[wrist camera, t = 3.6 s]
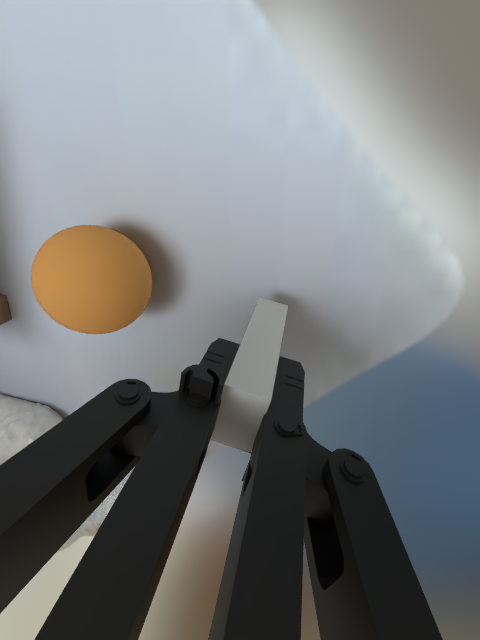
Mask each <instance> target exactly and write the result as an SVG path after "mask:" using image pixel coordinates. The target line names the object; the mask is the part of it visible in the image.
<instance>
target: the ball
mask: <svg viewBox="0 0 480 640" xmlns="http://www.w3.org/2000/svg"><path fill="white" fill-rule="evenodd" d="M31 282H32V287H33V291H34V294H35V297H36V299H37V301H38V302H39V304H40V306H41V307H42V308H43V310H44V311H45V312H46V313H47V314H48V315H49V316H50V317H51V318H52V319H53V320H55V321H56V322H57V323H59V324H61V325H63V326H64V327H66V328H68V329H71V330H74V331H77V332H81V333H87V334H103V333H110V332H113V331H117V330H119V329H122V328H124V327H126V326H128V325H129V324H130V323H132V322H133V321H135V320H136V319H137V318H138V317H139V316H140V315H141V314H142V312H143V311H144V309H145V308H146V306H147V304H148V302H149V299H150V296H151V292H152V273H151V270H150V266H149V264H148V261H147V259H146V258H145V256H144V254H143V253H142V251H141V250H140V249H139V248H138V247H137V246H136V245H135V244H134V243H133V242H132V241H131V240H130V239H129V238H127V237H126V236H124V235H123V234H121V233H119V232H117V231H115V230H112V229H109V228H106V227H101V226H95V225H81V226H75V227H71V228H67V229H65V230H62V231H60V232H58V233H56V234H55V235H53V236H52V237H51V238H49V239H48V240H47V241H46V242H45V243H44V244H43V245H42V246H41V248H40V249H39V251H38V253H37V254H36V256H35V259H34V262H33V265H32V271H31Z"/></svg>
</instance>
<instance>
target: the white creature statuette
mask: <svg viewBox="0 0 480 640" xmlns="http://www.w3.org/2000/svg"><path fill="white" fill-rule="evenodd" d="M62 420H64V419H63V418H62V417H61V416H60V415H59V414H58V413H57V412H56V411H54V410H53V409H51V408H50V407H48V406H47V405H41V404H40V403H36V404H35V403H33V402H29V401H27V400H21V399H17V398H13V397H9V396H5V395H1V394H0V465H1V464H2V463H4V462H5V461H7V460H8V459H9V458H11V457H12V456H14V455H15V454H16V453H18V452H19V451H21V450H22V449H23V448H25V447H26V446H27V445H29V444H30V443H32V442H33V441H34V440H36V439H37V438H39V437H40V436H41V435H43V434H44V433H46V432H47V431H48V430H50V429H51V428H52V427H54V426H55V425H57V424H58V423H59V422H61V421H62Z"/></svg>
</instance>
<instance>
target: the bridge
mask: <svg viewBox="0 0 480 640" xmlns="http://www.w3.org/2000/svg"><path fill="white" fill-rule="evenodd" d="M11 319H12V318H11V314H10V310H9V306H8V302H7V298H6V296H4V295H1V294H0V325H1V324H3V323H5V322H7V321H9V320H11Z"/></svg>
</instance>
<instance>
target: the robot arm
mask: <svg viewBox="0 0 480 640" xmlns="http://www.w3.org/2000/svg"><path fill="white" fill-rule="evenodd" d="M287 310H288V305H284V304H281V303H278V302H274V301H271V300H268V299H264V298H261V297H259V299H258V302H257V304H256V307H255V309H254V312H253V314H252V317H251V319H250V322H249V324H248V327H247V329H246V332H245V334H244V337H243V339H242V342H241V344H237V343H234V342H230V341H227V340H224V339H221V338H219V339H217V340H216V341H214V342H213V343H211V345H210V346H209V348H208V350H207V352H206V354H205V355H204V357H203V359H202V361H201V362H200V364H199V365H192V366H189V367H187V368H186V369H185V370H184V371H183V372H182V373H181V380H180V387H179V390H178V391H175V392H171V393H160V392H151V390H150V387H149V386H148V385H147V384H146V383H145V382H142V381H140V380H137V379H126V380H121V381H118V382H116V383H114V384H112V385H111V386H109V387H108V388H107V389H105V390H104V391H103V392H101V393H100V394H98V395H97V396H96V397H94V398H93V399H91V400H90V401H89V402H87V403H86V404H84V405H83V406H82V407H80V408H79V409H78V410H76V411H75V412H73V413H72V414H71V415H69V416H68V417H66V418H65V419H64V420H62V421H61V422H59V423H58V424H57V425H55V426H54V427H52V428H51V429H50V430H48V431H47V432H46V433H44V434H43V435H41V436H40V437H39V438H37V439H36V440H34V441H33V442H32V443H30V444H29V445H27V446H26V447H25V448H23V449H22V450H21V451H19V452H18V453H16V454H15V455H14V456H12V457H11V458H9V459H8V460H7V461H5V462H4V463H2V464H1V465H0V613H1V612H2V611H3V610H4V609H5V608H6V607H7V606H8V604H9V603H10V602H11V601H12V600H13V599H14V598H15V597H16V596H17V594H18V593H19V592H20V591H21V590H22V589H23V588H24V587H25V586H26V585H27V584H28V582H29V581H30V580H31V579H32V578H33V577H34V576H35V575H36V574H37V573H38V571H39V570H40V569H41V568H42V567H43V566H44V565H45V564H46V563H47V562H48V561H49V559H50V558H51V557H52V556H53V555H54V554H55V553H56V552H57V551H58V550H59V549H60V547H61V546H62V545H63V544H64V543H65V542H66V541H67V540H68V539H69V538H70V537H71V535H72V534H73V533H74V532H75V531H76V530H77V529H78V528H79V527H80V526H81V524H82V523H83V522H84V521H85V520H86V519H87V518H88V517H89V516H90V515H91V514H92V512H93V511H94V510H95V509H96V508H97V507H98V506H99V505H100V504H101V503H102V501H103V500H104V499H105V498H106V497H107V496H108V495H109V494H110V493H111V492H112V491H113V489H114V488H115V487H116V486H117V485H118V484H119V483H120V482H121V481H122V480H123V479H124V477H125V476H126V475H127V474H128V473H129V472H130V471H131V470H132V469H133V468H134V466H135V465H136V466H135V468H134V470H133V471H132V473H131V475H130V477H129V478H128V480H127V482H126V483H125V485H124V487H123V489H122V490H121V492H120V494H119V495H118V497H117V499H116V501H115V502H114V504H113V506H112V507H111V509H110V511H109V513H108V514H107V516H106V518H105V519H104V521H103V523H102V525H101V526H100V528H99V530H98V532H97V533H96V535H95V537H94V538H93V540H92V542H91V544H90V545H89V547H88V549H87V551H86V552H85V554H84V556H83V557H82V559H81V561H80V562H79V564H78V566H77V568H76V569H75V571H74V573H73V574H72V576H71V578H70V580H69V581H68V583H67V585H66V587H65V588H64V590H63V592H62V594H61V595H60V597H59V599H58V600H57V602H56V604H55V605H54V607H53V609H52V611H51V612H50V614H49V616H48V617H47V619H46V621H45V623H44V624H43V626H42V628H41V630H40V631H39V633H38V635H37V636H36V638H35V640H138V638H139V635H140V633H141V630H142V627H143V625H144V622H145V619H146V616H147V614H148V611H149V608H150V605H151V602H152V600H153V597H154V594H155V592H156V589H157V586H158V584H159V581H160V578H161V575H162V573H163V570H164V567H165V564H166V562H167V559H168V556H169V554H170V551H171V548H172V545H173V543H174V540H175V537H176V534H177V532H178V529H179V526H180V524H181V521H182V518H183V515H184V513H185V510H186V507H187V504H188V502H189V499H190V496H191V493H192V491H193V488H194V485H195V483H196V480H197V477H198V474H199V472H200V469H201V466H202V463H203V461H204V458H205V455H206V452H207V448H208V444H209V442H210V439H211V440H214V441H217V442H220V443H222V444H225V445H228V446H231V447H234V448H237V449H240V450H243V451H245V452H249V453H251V451H252V453H251V457H250V461H249V463H248V466H247V468H246V471H245V473H244V476H243V479H242V481H244V482H243V486H242V491H241V495H240V500H239V504H238V509H237V513H236V517H235V522H234V526H233V532H232V535H231V540H230V544H229V549H228V553H227V558H226V562H225V567H224V571H223V576H222V580H221V585H220V589H219V593H218V598H217V602H216V607H215V612H214V616H213V620H212V625H211V629H210V634H209V638H208V640H300V638H301V606H302V574H303V543H304V542H305V548H306V554H307V560H308V566H309V572H310V578H311V584H312V589H313V595H314V601H315V607H316V614H317V620H318V626H319V631H320V637H321V640H443V639H442V637H441V634H440V632H439V630H438V627H437V625H436V622H435V620H434V618H433V615H432V613H431V610H430V608H429V605H428V603H427V600H426V598H425V596H424V593H423V591H422V589H421V586H420V583H419V581H418V579H417V576H416V574H415V571H414V569H413V567H412V564H411V562H410V559H409V557H408V554H407V552H406V549H405V547H404V545H403V542H402V540H401V537H400V535H399V532H398V530H397V528H396V525H395V523H394V520H393V518H392V516H391V513H390V511H389V508H388V506H387V503H386V501H385V499H384V496H383V494H382V491H381V489H380V486H379V484H378V482H377V479H376V477H375V474H374V472H373V470H372V469H371V467H370V465H369V464H368V463H367V462H366V461H365V460H364V458H362V456H360V455H359V454H357V453H355V452H354V451H351V450H348V449H336V450H335V451H333V452H331V451H329V450H328V449H326V448H324V447H323V446H321V445H320V444H318V443H317V442H316V441H315V440H313V439H312V438H311V437H310V435H309V434H308V433H307V431H306V428H305V425H304V424H303V397H304V376H305V372H304V370H303V367H302V365H301V363H300V362H297V361H294V360H290V359H287V358H284V357H281V356H279V354H280V349H281V343H282V338H283V332H284V327H285V321H286V316H287ZM303 540H304V542H303Z"/></svg>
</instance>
